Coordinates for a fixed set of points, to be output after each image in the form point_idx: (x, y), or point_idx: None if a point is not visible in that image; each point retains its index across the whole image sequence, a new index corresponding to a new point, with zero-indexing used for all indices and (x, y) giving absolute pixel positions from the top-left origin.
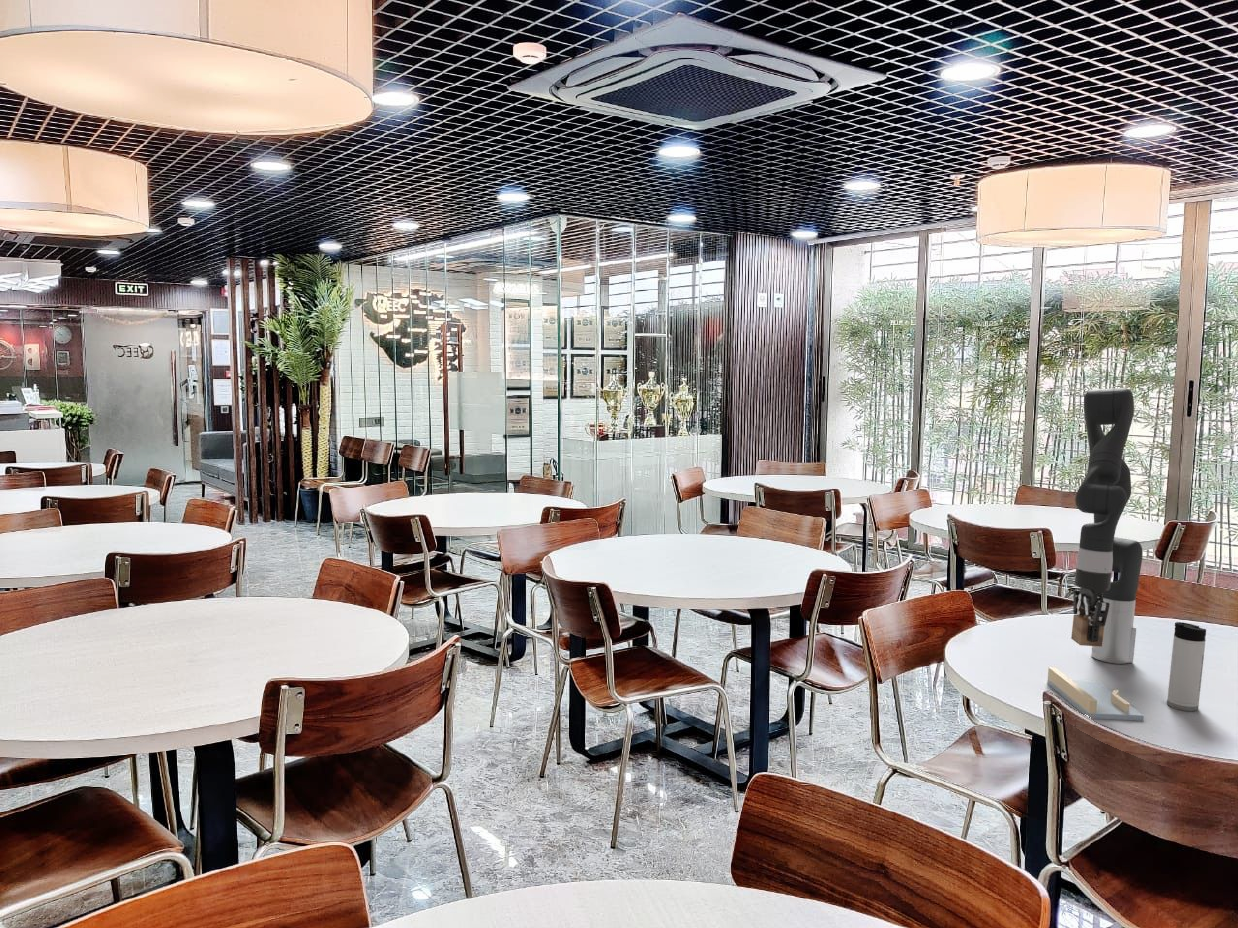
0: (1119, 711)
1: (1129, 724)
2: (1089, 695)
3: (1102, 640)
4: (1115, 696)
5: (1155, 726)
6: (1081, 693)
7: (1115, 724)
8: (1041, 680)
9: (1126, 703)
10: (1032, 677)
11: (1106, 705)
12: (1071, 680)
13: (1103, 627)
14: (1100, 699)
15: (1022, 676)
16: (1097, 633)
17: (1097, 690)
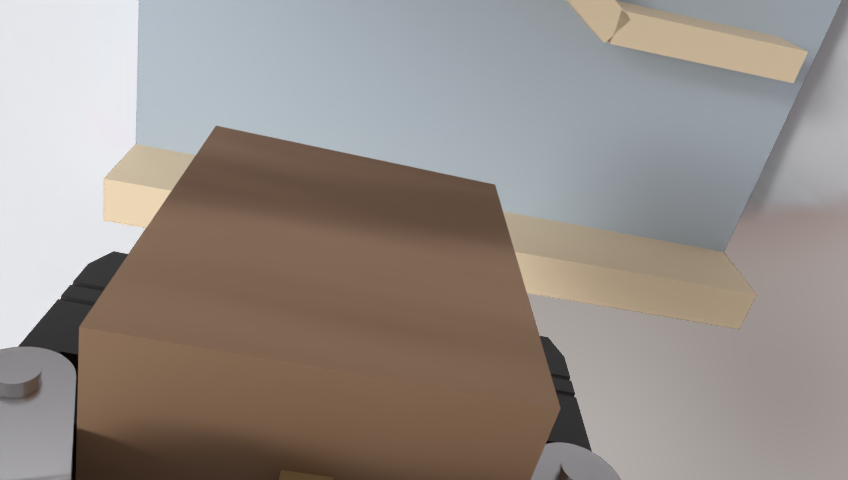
0: (744, 89)
1: (844, 101)
2: (669, 284)
3: (503, 221)
4: (658, 53)
5: None
6: (624, 308)
7: (813, 182)
8: (88, 171)
9: (791, 68)
10: (34, 196)
11: (638, 106)
12: (153, 28)
13: (533, 341)
14: (536, 72)
15: (25, 246)
16: (571, 409)
17: None
